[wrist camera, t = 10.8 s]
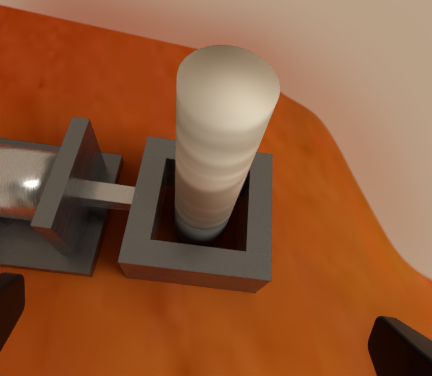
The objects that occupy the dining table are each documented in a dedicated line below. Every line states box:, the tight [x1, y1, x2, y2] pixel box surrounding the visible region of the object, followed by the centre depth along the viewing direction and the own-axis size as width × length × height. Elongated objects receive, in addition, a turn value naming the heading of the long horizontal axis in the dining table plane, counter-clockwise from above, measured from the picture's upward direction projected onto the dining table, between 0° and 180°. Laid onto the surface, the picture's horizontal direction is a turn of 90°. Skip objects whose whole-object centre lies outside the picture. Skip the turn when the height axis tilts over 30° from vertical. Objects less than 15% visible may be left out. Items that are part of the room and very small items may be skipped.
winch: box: [0, 117, 272, 293], centre depth 20 cm, size 9×22×6 cm, turn 85°
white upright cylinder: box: [174, 45, 280, 247], centre depth 17 cm, size 4×4×14 cm
